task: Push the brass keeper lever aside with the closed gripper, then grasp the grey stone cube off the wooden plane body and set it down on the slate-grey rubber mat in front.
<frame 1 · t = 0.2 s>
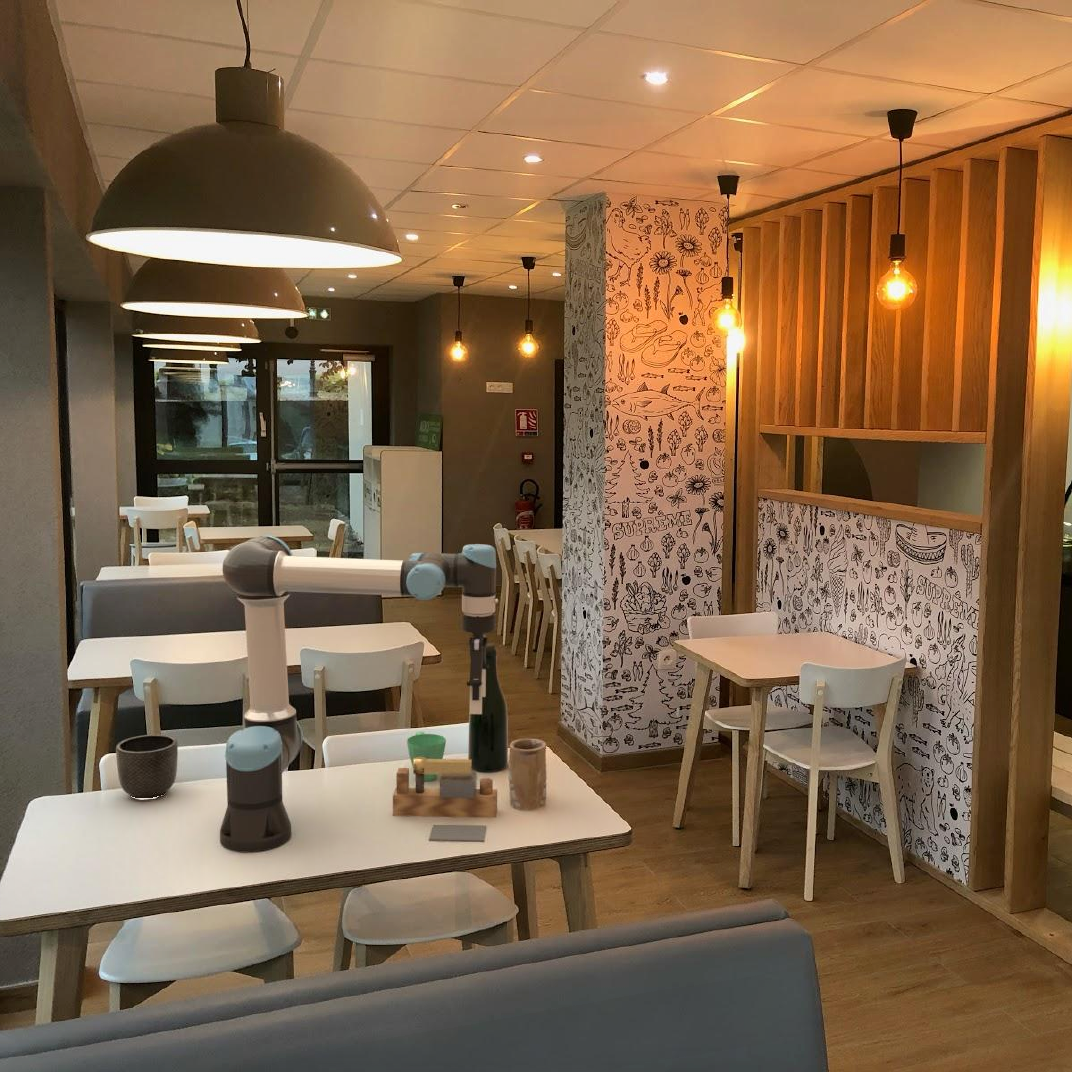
hand: (477, 704, 235), 27 cm above the table, fingers open, 13 cm apart
planter: (148, 795, 251), on the table
grey stone cube: (458, 792, 241), point 5 cm above the table, touching plane body
mat: (457, 833, 230), on the table
green wine bottle: (488, 766, 274), on the table
mug: (424, 775, 267), on the table
mug 2: (523, 801, 250), on the table
lever: (442, 766, 241), point 11 cm above the table, hinge at 0.0°
plane body: (445, 812, 242), on the table
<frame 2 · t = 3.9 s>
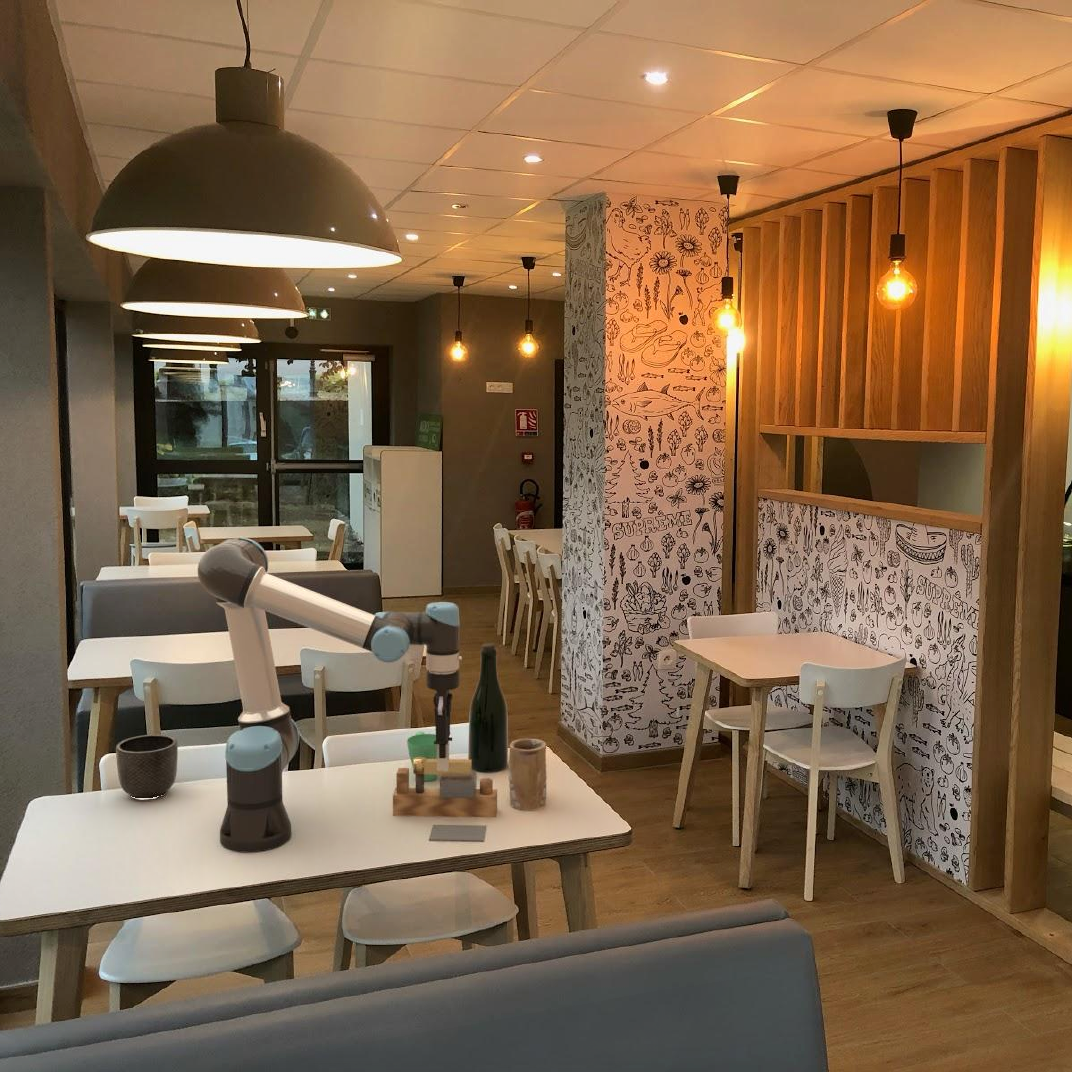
hand: (443, 769, 239), 11 cm above the table, fingers closed
lever: (442, 766, 241), point 11 cm above the table, hinge at 0.0°, touching gripper
everything else where it was.
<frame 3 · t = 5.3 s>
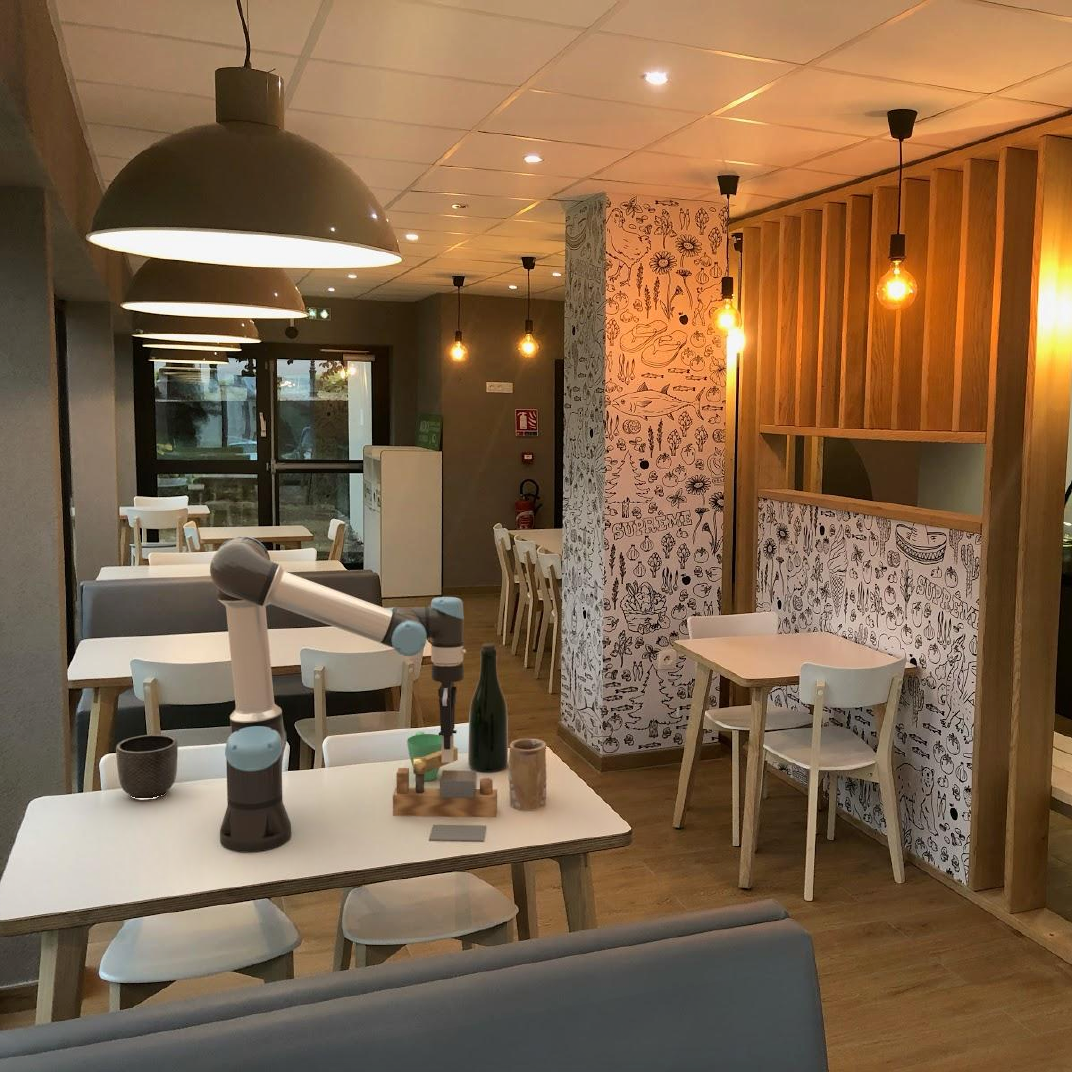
hand: (447, 761, 245), 11 cm above the table, fingers closed
lever: (435, 759, 245), point 11 cm above the table, hinge at 53.2°, touching gripper
everything else where it was.
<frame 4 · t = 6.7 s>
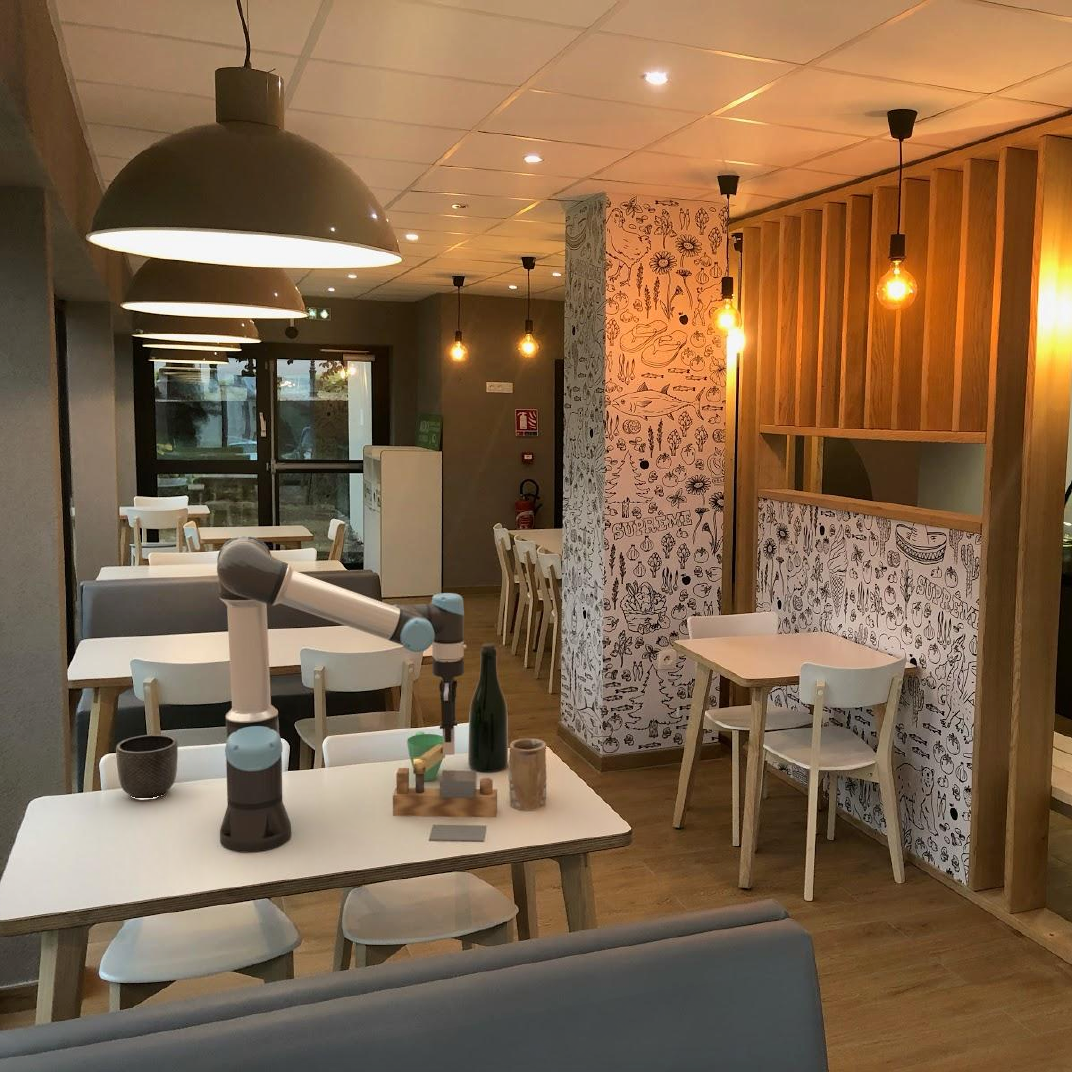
hand: (448, 753, 250), 11 cm above the table, fingers closed
lever: (429, 758, 246), point 11 cm above the table, hinge at 71.4°, touching gripper
everything else where it was.
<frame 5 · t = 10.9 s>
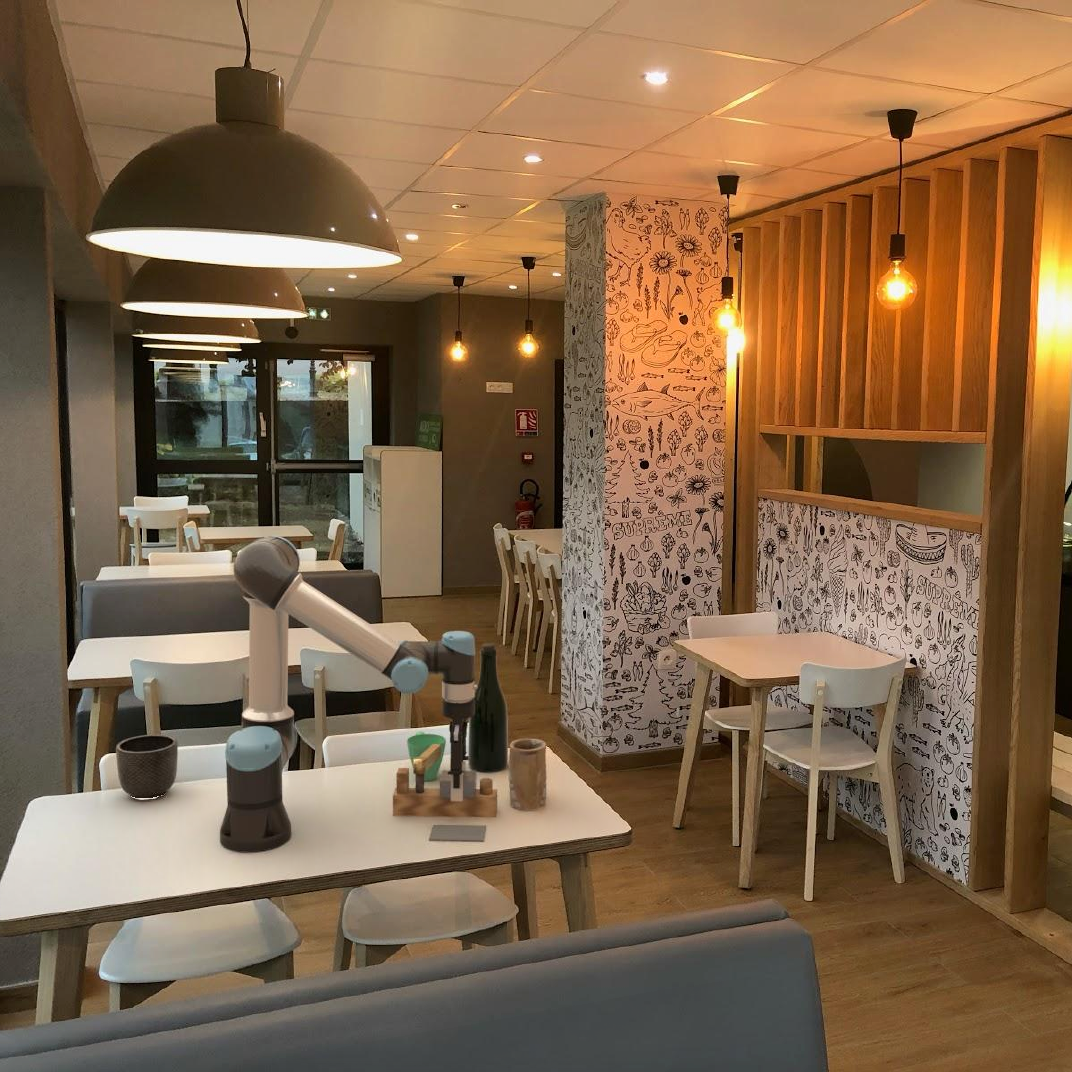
hand: (458, 794, 241), 5 cm above the table, fingers closed on grey stone cube, 7 cm apart
grey stone cube: (458, 792, 241), point 5 cm above the table, touching gripper, plane body
lever: (427, 758, 246), point 11 cm above the table, hinge at 77.1°
everything else where it was.
when the fingers open (2 cm above the table, at t = 17.1 s): grey stone cube drops 2 cm, resting on mat.
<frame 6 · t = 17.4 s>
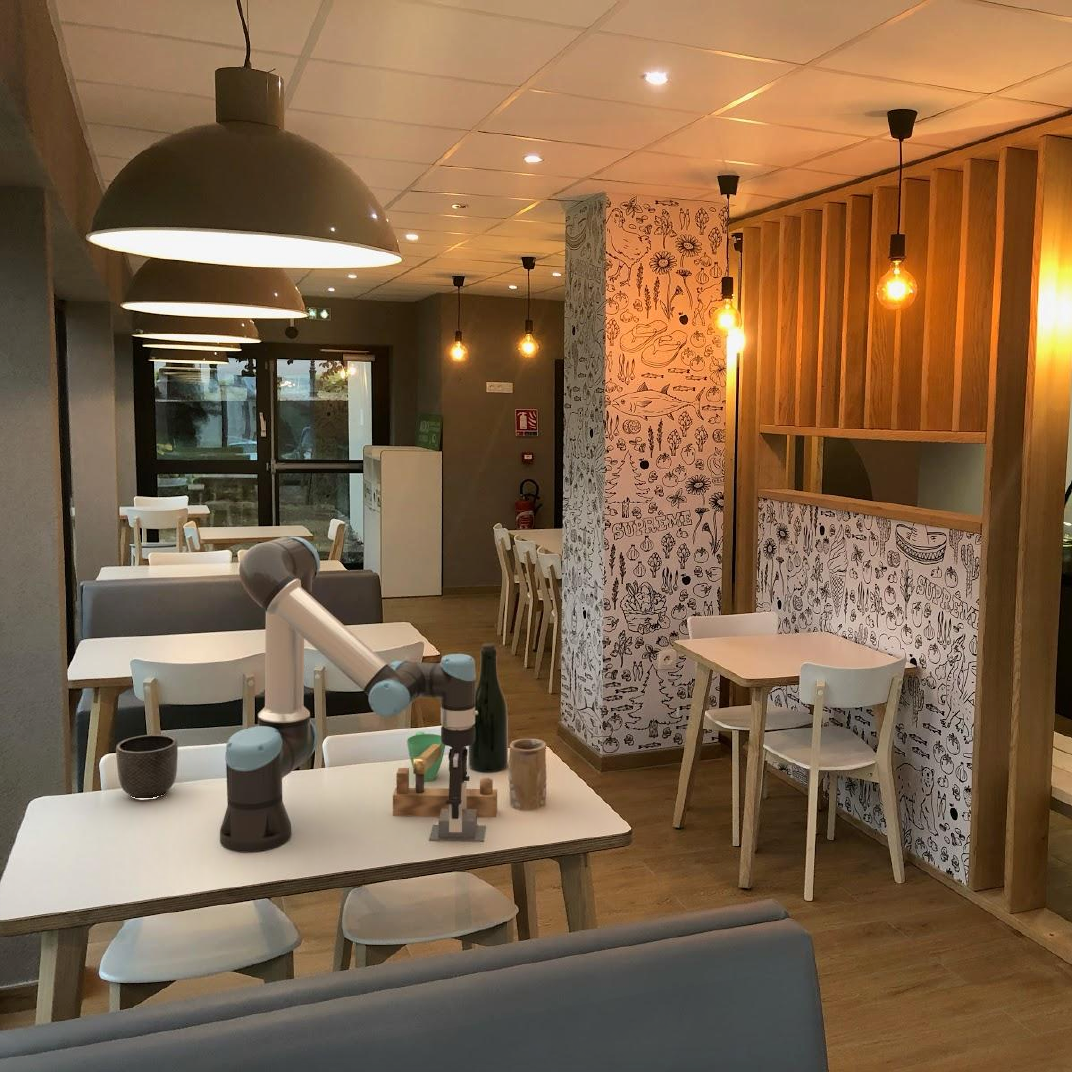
hand: (457, 820, 230), 3 cm above the table, fingers open, 11 cm apart
grey stone cube: (457, 832, 230), resting on mat
everything else where it was.
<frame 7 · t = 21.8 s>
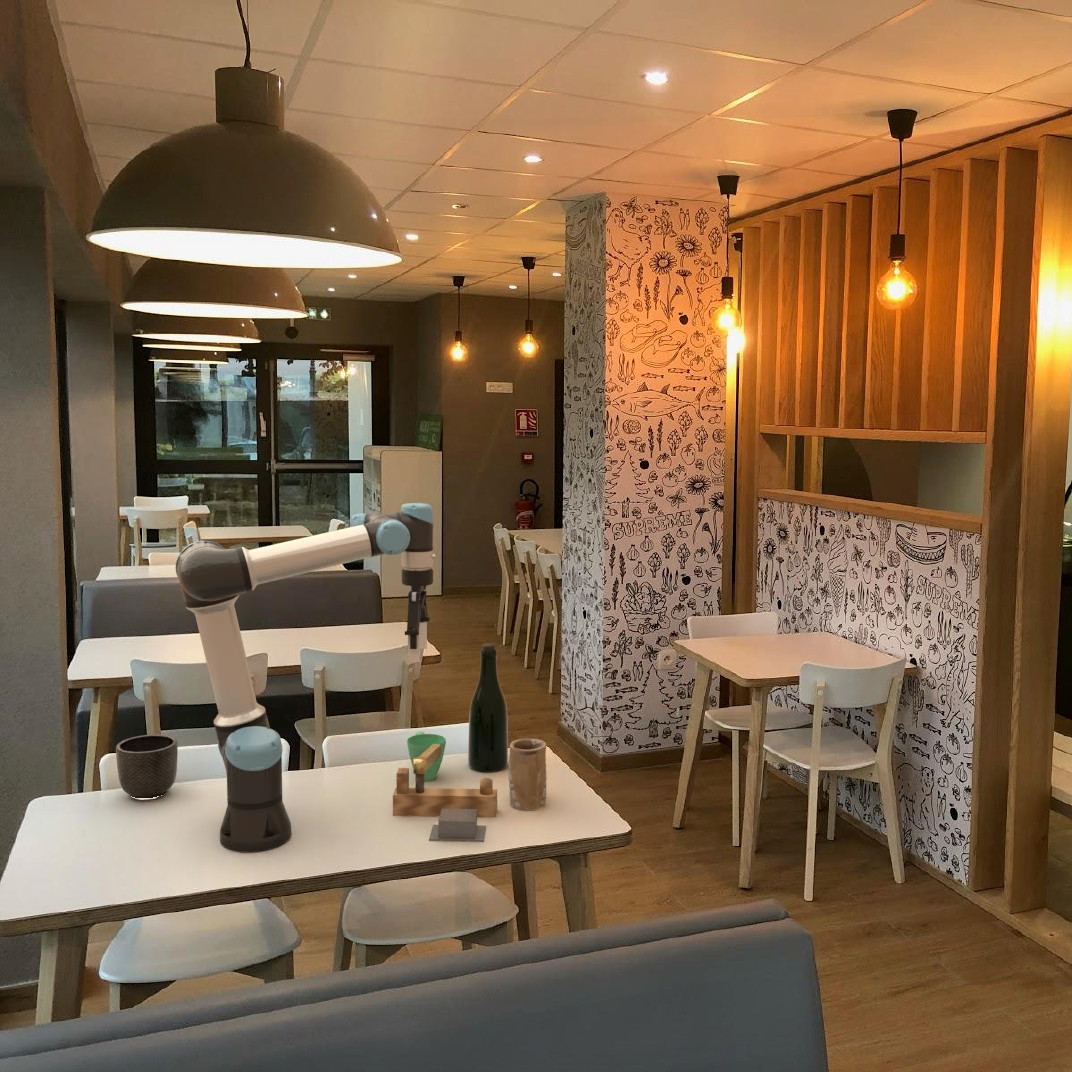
hand: (417, 655, 250), 35 cm above the table, fingers open, 13 cm apart
nothing on the table moved.
at the end: lever at +77° (first picture: +0°); grey stone cube inside the target area on the mat (0.0 cm from its centre), point 0.4 cm above the mat's base; grey stone cube tilted 0° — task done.
